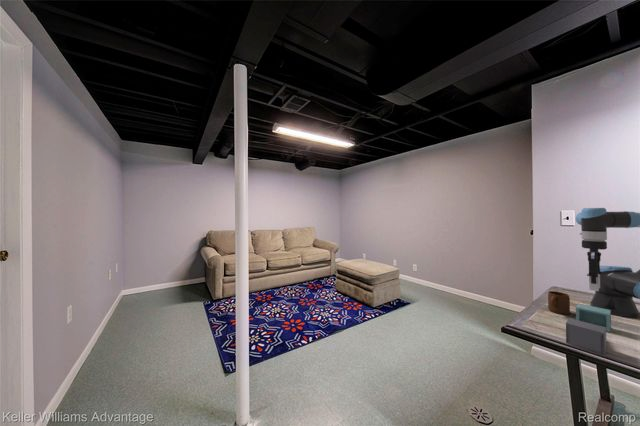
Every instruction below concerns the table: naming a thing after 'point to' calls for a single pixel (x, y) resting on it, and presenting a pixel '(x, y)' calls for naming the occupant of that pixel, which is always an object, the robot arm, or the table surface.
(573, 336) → the charcoal cap
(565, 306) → the mug
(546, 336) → the table surface
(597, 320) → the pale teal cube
